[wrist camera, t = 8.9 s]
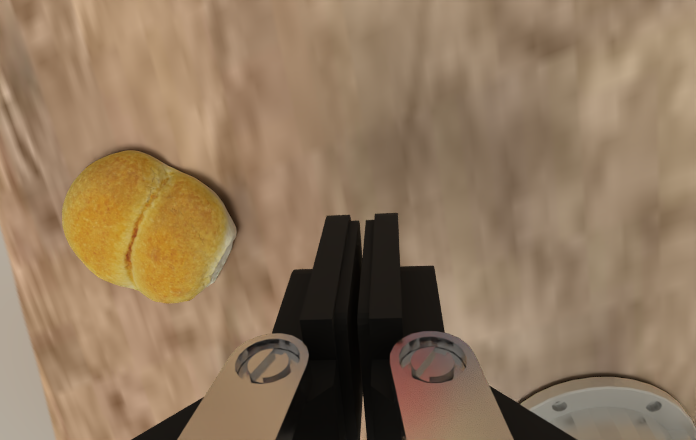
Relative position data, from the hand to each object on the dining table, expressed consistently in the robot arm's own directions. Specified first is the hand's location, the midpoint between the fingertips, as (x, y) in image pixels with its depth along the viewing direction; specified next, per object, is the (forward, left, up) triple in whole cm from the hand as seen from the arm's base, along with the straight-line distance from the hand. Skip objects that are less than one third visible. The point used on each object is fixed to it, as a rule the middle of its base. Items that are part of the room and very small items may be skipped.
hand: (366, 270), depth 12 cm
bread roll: (+13, +5, -15) cm, 20 cm away
